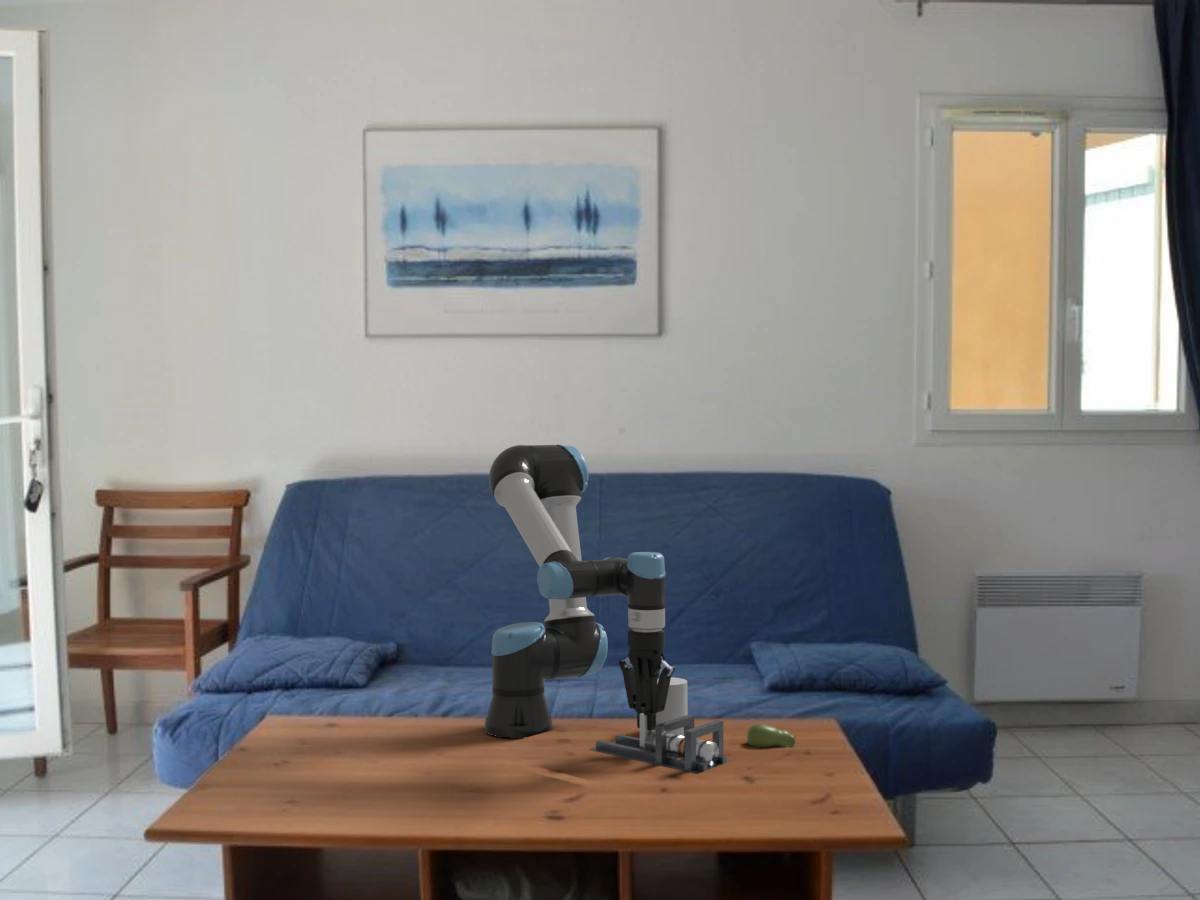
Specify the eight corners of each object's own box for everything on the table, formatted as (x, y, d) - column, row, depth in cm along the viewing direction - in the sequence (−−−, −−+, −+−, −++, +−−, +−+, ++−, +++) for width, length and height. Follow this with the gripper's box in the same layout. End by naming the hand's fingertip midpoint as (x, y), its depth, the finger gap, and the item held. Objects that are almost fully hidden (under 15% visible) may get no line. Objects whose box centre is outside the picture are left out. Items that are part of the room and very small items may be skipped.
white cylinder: (687, 731, 241) (687, 677, 241) (687, 741, 233) (686, 685, 233) (651, 731, 242) (650, 677, 242) (649, 740, 234) (648, 684, 234)
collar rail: (588, 754, 223) (588, 712, 223) (625, 742, 233) (625, 702, 233) (697, 779, 206) (697, 734, 206) (732, 765, 215) (732, 722, 215)
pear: (747, 718, 230) (794, 726, 230) (743, 743, 230) (790, 751, 230) (751, 725, 224) (799, 733, 224) (747, 750, 224) (795, 758, 224)
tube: (643, 751, 219) (646, 729, 220) (656, 752, 222) (659, 730, 223) (704, 765, 210) (707, 741, 210) (717, 766, 213) (720, 742, 214)
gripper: (610, 627, 223) (610, 743, 223) (660, 634, 214) (660, 754, 214) (632, 623, 228) (633, 736, 228) (683, 629, 220) (683, 747, 220)
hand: (646, 745), depth 221 cm, fingers closed
